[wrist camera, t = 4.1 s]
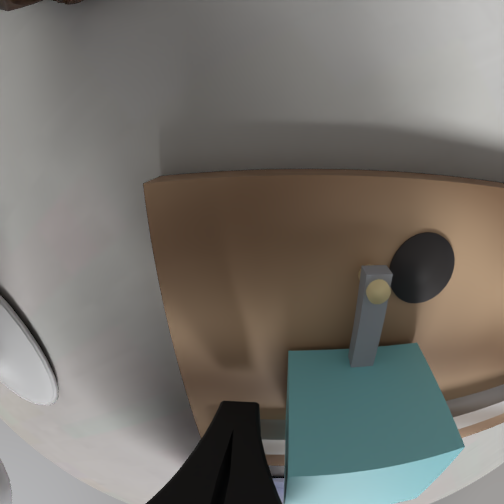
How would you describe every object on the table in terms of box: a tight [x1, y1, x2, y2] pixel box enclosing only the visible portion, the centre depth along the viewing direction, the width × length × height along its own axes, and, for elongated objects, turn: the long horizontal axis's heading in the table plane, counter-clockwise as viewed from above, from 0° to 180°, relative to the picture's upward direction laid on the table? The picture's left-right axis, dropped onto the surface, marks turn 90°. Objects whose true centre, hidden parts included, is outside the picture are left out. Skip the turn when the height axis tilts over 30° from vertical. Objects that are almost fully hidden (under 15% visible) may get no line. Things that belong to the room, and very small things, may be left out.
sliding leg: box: [283, 264, 465, 504], centre depth 8 cm, size 8×5×5 cm, turn 3°
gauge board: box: [143, 169, 504, 466], centre depth 11 cm, size 16×24×3 cm, turn 93°
